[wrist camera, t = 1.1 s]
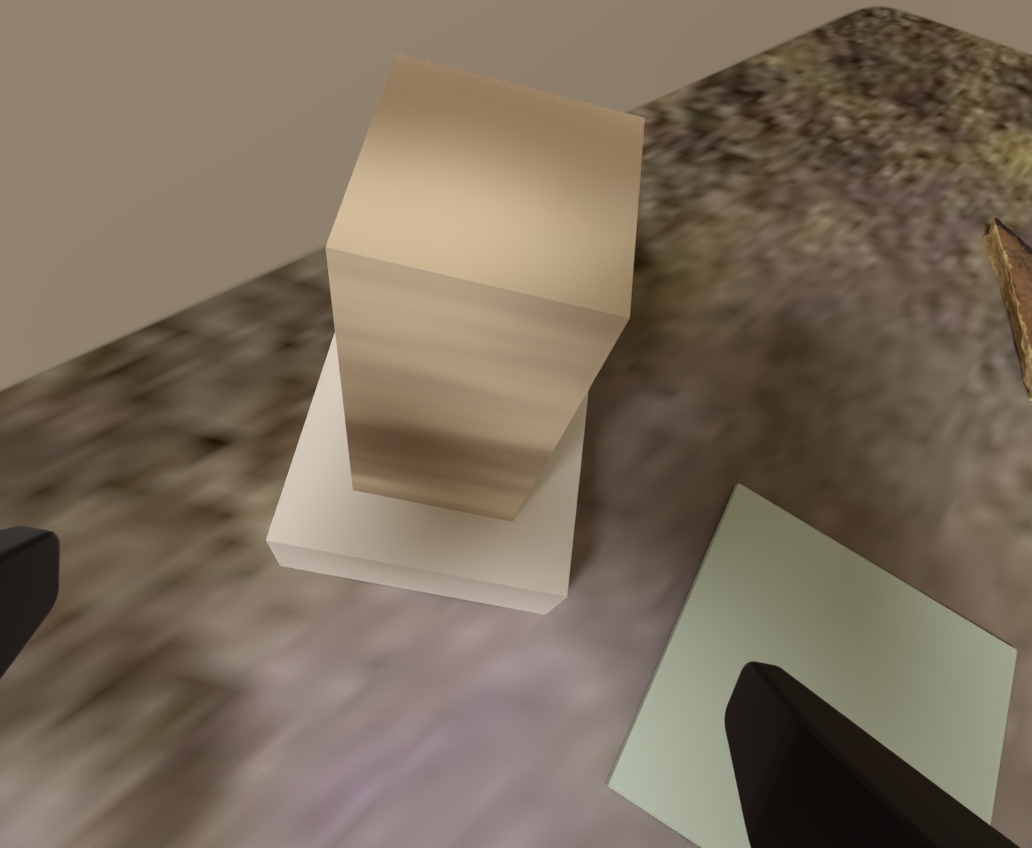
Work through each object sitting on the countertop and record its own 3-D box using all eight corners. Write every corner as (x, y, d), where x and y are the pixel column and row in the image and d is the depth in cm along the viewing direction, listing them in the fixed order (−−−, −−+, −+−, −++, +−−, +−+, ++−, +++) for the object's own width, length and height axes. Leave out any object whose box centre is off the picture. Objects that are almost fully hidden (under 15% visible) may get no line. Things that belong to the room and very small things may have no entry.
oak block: (512, 521, 20) (630, 318, 11) (352, 490, 20) (325, 247, 10) (532, 386, 23) (644, 118, 13) (390, 354, 22) (397, 52, 13)
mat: (953, 1013, 19) (961, 1016, 19) (605, 784, 20) (608, 785, 20) (1010, 651, 25) (1017, 650, 25) (735, 485, 26) (738, 483, 26)
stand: (545, 614, 22) (567, 596, 20) (280, 565, 21) (265, 540, 19) (571, 390, 27) (592, 351, 24) (350, 342, 26) (346, 295, 23)
